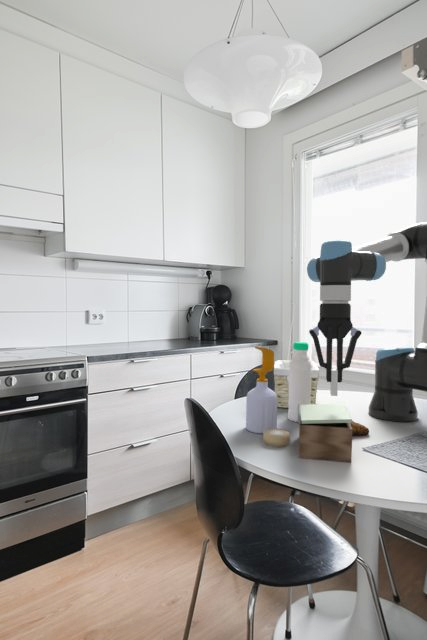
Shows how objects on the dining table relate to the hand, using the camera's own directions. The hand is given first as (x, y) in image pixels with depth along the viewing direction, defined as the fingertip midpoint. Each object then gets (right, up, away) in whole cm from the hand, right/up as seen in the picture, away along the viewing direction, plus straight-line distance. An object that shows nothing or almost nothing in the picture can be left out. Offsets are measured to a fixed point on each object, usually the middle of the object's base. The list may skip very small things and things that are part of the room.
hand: (333, 394), depth 103 cm
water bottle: (-3, -13, +26) cm, 30 cm away
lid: (-3, -5, 0) cm, 6 cm away
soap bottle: (-17, -13, +16) cm, 27 cm away
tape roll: (-14, -14, +5) cm, 20 cm away
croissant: (+7, -14, +13) cm, 21 cm away
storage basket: (0, -12, +50) cm, 51 cm away
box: (-3, -14, +1) cm, 14 cm away
